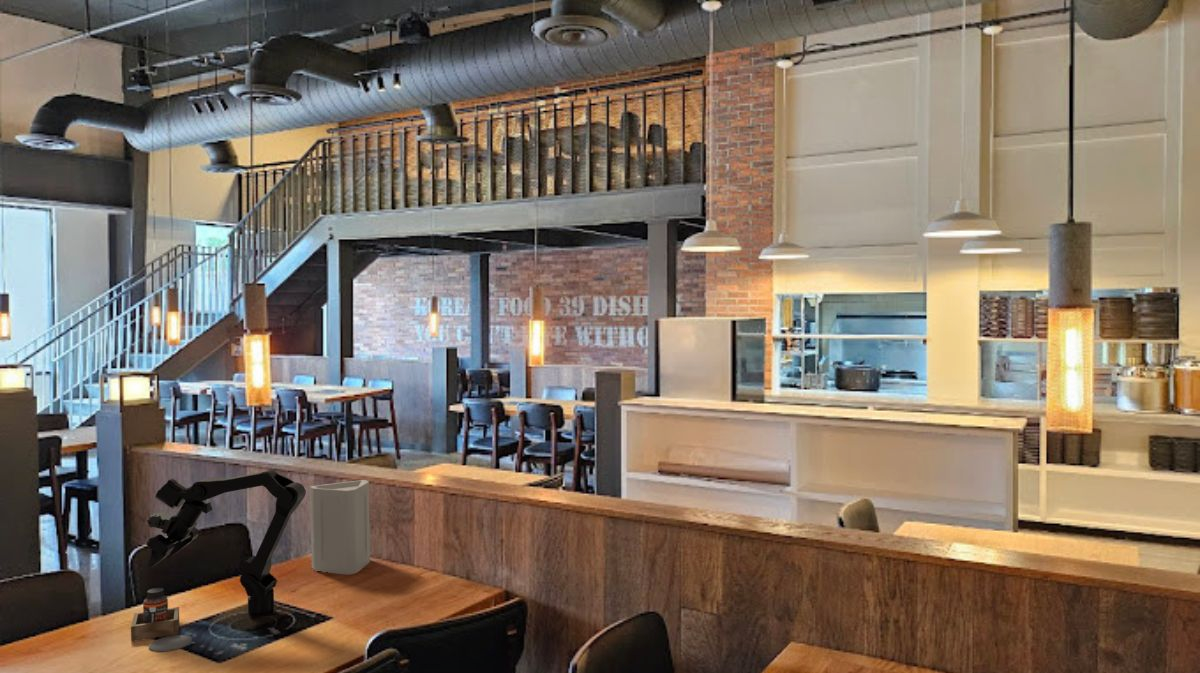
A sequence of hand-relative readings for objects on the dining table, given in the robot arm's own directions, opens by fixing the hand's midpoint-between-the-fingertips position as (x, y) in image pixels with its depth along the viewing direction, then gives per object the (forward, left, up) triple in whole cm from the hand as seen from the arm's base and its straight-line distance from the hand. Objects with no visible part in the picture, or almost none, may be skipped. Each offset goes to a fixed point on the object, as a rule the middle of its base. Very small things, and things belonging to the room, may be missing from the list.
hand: (158, 562), depth 239 cm
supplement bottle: (0, +15, -15) cm, 21 cm away
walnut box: (0, +15, -15) cm, 21 cm away
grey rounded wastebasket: (-55, -20, -15) cm, 60 cm away
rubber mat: (-4, +27, -15) cm, 31 cm away
